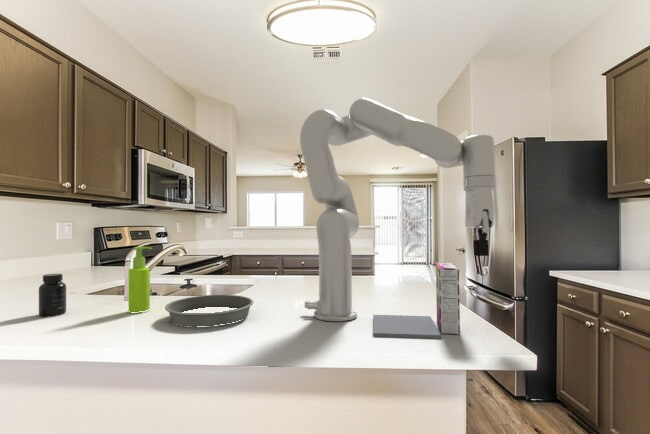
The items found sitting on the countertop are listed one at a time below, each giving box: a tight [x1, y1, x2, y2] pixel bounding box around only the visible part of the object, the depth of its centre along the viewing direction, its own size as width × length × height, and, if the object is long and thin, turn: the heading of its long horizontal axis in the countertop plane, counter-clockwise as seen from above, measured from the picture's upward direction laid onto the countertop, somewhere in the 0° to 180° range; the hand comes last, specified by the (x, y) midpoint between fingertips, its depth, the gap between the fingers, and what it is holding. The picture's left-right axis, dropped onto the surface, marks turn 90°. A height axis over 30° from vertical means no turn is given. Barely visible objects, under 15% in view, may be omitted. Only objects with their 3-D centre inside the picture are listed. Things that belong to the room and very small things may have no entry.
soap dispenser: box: [128, 246, 153, 312], centre depth 120 cm, size 6×7×20 cm
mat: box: [372, 314, 443, 339], centre depth 101 cm, size 16×18×1 cm
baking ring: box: [164, 294, 254, 328], centre depth 112 cm, size 25×25×4 cm
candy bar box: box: [435, 262, 461, 335], centre depth 100 cm, size 11×5×16 cm, turn 168°
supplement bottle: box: [38, 273, 67, 318], centre depth 116 cm, size 7×7×12 cm
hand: (481, 255), depth 99 cm, fingers closed
